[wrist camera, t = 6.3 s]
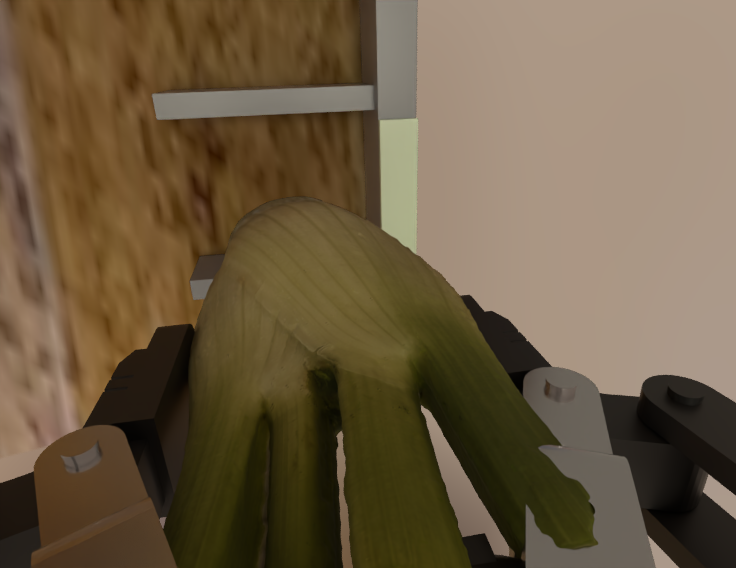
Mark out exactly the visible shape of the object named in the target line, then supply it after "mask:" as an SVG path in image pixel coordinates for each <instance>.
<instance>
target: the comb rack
mask: <svg viewBox="0 0 736 568" xmlns="http://www.w3.org/2000/svg"><path fill="white" fill-rule="evenodd" d="M359 2H360V34H361V65H362V83H345V84H319V85H293V86H266V87H240V88H214V89H188V90H167V91H163V92H158V93H154V94H152V98H153V103H154V108H155V113H156V118H157V120H165V119H187V118H208V117H230V116H251V115H273V114H294V113H316V112H338V111H359V110H363V127H364V159H365V190H366V220H368V221H370V222H372V223H373V224H374V225H376V226H377V227H379V228H381V229H382V230H384V231H385V232H386V233H388V234H389V235H391V236H393V237H394V238H396V239H398V240H399V241H400V243H401V244H402V245H404V246H405V247H408V248H409V249H410V250H411V251H412V252H413V253H415V254H416V243H417V241H416V239H417V169H418V118H416V90H417V89H416V88H417V84H416V83H417V6H418V5H417V4H418V0H359ZM224 257H225V254H221V255H209V256H200V257H199V260H198V262H197V265H196V267H195V269H194V272H193V274H192V277H191V279H190V285H191V290H192V295H193V300H197V299H205V297H206V294H207V291H208V289H209V286H210V284H211V283H212V281H213V278H214V276H215V274H216V273H217V272H218V270H219V269H220V267H221V265H222V262H223V260H224Z"/></svg>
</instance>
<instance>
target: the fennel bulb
mask: <svg viewBox="0 0 736 568" xmlns="http://www.w3.org/2000/svg"><path fill="white" fill-rule="evenodd" d="M194 331H195V334H194V337H193V341H192V345H191V350H190V357H189V365H188V384H189V421H188V426H189V429H188V435H187V440H186V444H185V447H184V450H185V455H184V459H183V462H182V470H181V473H180V476H179V480H178V483H177V486H176V491H175V494H174V496H173V500H172V503H171V506H170V509H169V512H168V514H167V517H166V520H165V525H164V529H163V531H164V534H165V536H166V539H167V542H168V544H169V547H170V550H171V552H172V555H173V558H174V560H175V563H176V566H177V568H343V563H342V545H341V538H340V531H341V530H340V529H341V521H340V505H339V484H338V480H337V459H336V450H337V447H338V442H337V437H336V436H337V434H338V433H339V432H340V431H342V432H343V436H344V437H343V450H344V455H345V457H346V461H345V464H346V472H345V477H344V496H345V500H346V503H347V506H348V514H349V528H350V536H349V540H350V550H351V557H352V564H353V568H472V567H471V564H470V560H469V557H468V551H467V549H466V547H465V546H464V544H463V541H462V535H461V532H460V530H459V528H458V521H457V518H456V516H455V512H454V509H453V507H452V506H451V504H450V501H449V497H448V494H447V492H446V486H445V483H444V482H443V479H442V477H441V473H440V469H439V466H438V462H437V459H436V456H435V452H434V448H433V445H432V442H431V439H430V434H429V430H428V428H427V424H426V419H425V416H424V415H423V413H422V411H421V405H422V406H423V407H424V408H426V409H428V410H429V411H430V412H431V413H432V415H433V417H434V418H435V420H436V421H437V423H438V425H439V427H440V428H441V430H442V433H443V435H444V437H445V438H446V440H447V442H448V443H449V445H450V447H451V448H452V450H453V452H454V454H455V455H456V457H457V458H458V460H459V462H460V464H461V466H462V468H463V470H464V471H465V473H466V475H467V476H468V478H469V479H470V481H471V483H472V485H473V487H474V489H475V491H476V493H477V494H478V497H479V498H480V499H481V501H482V502H483V504H484V506H485V507H486V509H487V510H488V512H489V514H490V515H491V517H492V518H493V520H494V522H495V523H496V525H497V527H498V529H499V531H500V532H501V534H502V536H503V537H504V539H505V540H506V542H507V544H508V546H509V547H510V548H511V549H512V550H513V551H514V552H515V554H516V557H517V558H519V559H521V549H522V547H523V546H524V534H525V515H526V505H527V506H528V507H529V509H530V510H531V512H532V514H533V515H534V521H535V524H536V526H537V527H538V528H539V529H540V531H541V533H542V534H545V535H548V536H549V537H551V538H552V539H553V541H554V543H555V545H556V546H557V547H558V548H570V549H575V548H579V547H583V546H596V545H598V541H597V540H596V539H595V538H594V536H593V524H594V520H595V518H594V516H593V515H594V514H595V513H594V510H593V508H592V506H591V505H590V503H589V502H588V501H589V499H590V495H589V493H588V492H587V491H586V489H585V488H584V487H583V485H582V484H581V483H580V482H579V481H577V480H575V479H572V478H569V477H566V476H565V475H564V474H563V473H562V472H561V471H560V470H559V469H558V468H557V466H556V465H555V464H554V463H553V461H552V460H551V459H550V458H549V457H548V456H547V455H545V454H544V453H543V452H541V451H540V450H539V448H538V447H540V446H542V445H560V446H562V445H561V443H560V442H559V441H558V439H557V438H556V437H555V436H554V435H553V434H552V432H551V430H550V429H549V428H548V426H547V425H546V424H545V423H544V422H543V421H542V420H541V418H540V417H539V416H538V415H537V414H536V412H535V411H534V410H533V409H532V408H531V406H530V405H529V404H528V402H527V401H526V400H525V398H524V397H523V396H522V395H521V393H520V392H519V390H518V389H517V388H516V386H515V385H514V383H513V382H512V380H511V379H510V377H509V375H508V374H507V372H506V371H505V370H504V368H503V366H502V365H501V363H500V362H499V361H498V360H497V358H496V356H495V354H494V353H493V351H492V350H491V348H490V347H489V345H488V344H487V343H486V341H485V339H484V337H483V334H482V333H481V332H480V331H479V329H478V326H477V323H476V322H475V320H474V319H473V317H472V315H471V313H470V310H469V309H467V307H466V305H465V304H464V302H463V300H462V298H461V297H460V295H459V294H458V293H457V292H456V291H455V289H454V288H453V287H452V286H450V284H449V283H448V282H447V281H446V279H445V278H444V277H443V276H442V275H441V274H440V273H439V272H438V271H436V270H435V269H433V268H432V267H431V266H430V265H429V264H427V263H426V262H425V261H424V260H423V259H422V258H421V257H420V256H418V255H416V254H415V253H413V252H412V251H411V250H410V249H409V248H408V247H405V246H404V245H402V244H401V243H400V241H399V240H398V239H396V238H394V237H393V236H391V235H389V234H388V233H386V232H385V231H384V230H382V229H381V228H379V227H377V226H376V225H374V224H373V223H372V222H370V221H368V220H366V219H363V218H361V217H359V216H358V215H356V214H354V213H352V212H350V211H348V210H345V209H343V208H341V207H338V206H335V205H333V204H329V203H326V202H323V201H321V200H319V199H315V198H311V197H287V198H282V199H277V200H273V201H269V202H267V203H265V204H263V205H260V206H259V207H257V208H256V209H254V210H253V211H251V212H249V213H247V214H246V215H245V216H244V217H243V218H242V219H241V220H240V221H239V222H238V223H237V225H236V227H235V228H234V230H233V232H232V233H231V236H230V239H229V243H228V247H227V250H226V253H225V257H224V260H223V262H222V265H221V267H220V269H219V270H218V272H217V273H216V274H215V276H214V278H213V281H212V283H211V284H210V286H209V289H208V291H207V294H206V297H205V299H204V302H203V306H202V309H201V311H200V314H199V317H198V319H197V323H196V326H195V329H194Z"/></svg>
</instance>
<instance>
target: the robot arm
mask: <svg viewBox="0 0 736 568" xmlns="http://www.w3.org/2000/svg"><path fill="white" fill-rule="evenodd" d="M460 297H461V298H462V300H463V302H464V304H465V305H466V307H467V309H469V310H470V313H471V315H472V317H473V319H474V320H475V322H476V323H477V326H478V329H479V331H480V332H481V333H482V334H483V337H484V339H485V341H486V343H487V344H488V345H489V347H490V348H491V350H492V351H493V353H494V354H495V356H496V358H497V360H498V361H499V362H500V363H501V365H502V366H503V368H504V370H505V371H506V372H507V374H508V375H509V377H510V379H511V380H512V382H513V383H514V385H515V386H516V388H517V389H518V390H519V392H520V393H521V395H522V396H523V397H524V398H525V400H526V401H527V402H528V404H529V405H530V406H531V408H532V409H533V410H534V411H535V412H536V414H537V415H538V416H539V417H540V418H541V420H542V421H543V422H544V423H545V424H546V425H547V426H548V428H549V429H550V430H551V432H552V434H553V435H554V436H555V437H556V438H557V439H558V441H559V442H560V443H561V445H562V446H560V445H542V446H540V447H538V448H539V450H540V451H541V452H543V453H544V454H545V455H547V456H548V457H549V458H550V459H551V460H552V461H553V463H554V464H555V465H556V466H557V468H558V469H559V470H560V471H561V472H562V473H563V474H564V475H565V476H566V477H569V478H572V479H575V480H577V481H579V482H580V483H581V484H582V485H583V487H584V488H585V489H586V491H587V492H588V493H589V495H590V499H589V501H588V502H589V503H590V505H591V506H592V508H593V510H594V513H595V514H594V515H593V516H594V518H595V520H594V524H593V536H594V538H595V539H596V540H597V541H598V545H596V546H583V547H579V548H575V549H570V548H558V547H557V546H556V545H555V543H554V541H553V539H552V538H551V537H549V536H548V535H545V534H542V533H541V531H540V529H539V528H538V527H537V526H536V524H535V521H534V515H533V514H532V512H531V510H530V509H529V507H528V506H527V505H526V515H525V534H524V546H523V547H522V549H521V559H519V558H517V557H516V554H515V552H514V551H513V550H512V549H511V548H510V547H509V556H503V555H494V553H493V551H492V548H491V546H490V544H489V542H488V539H487V537H486V535H485V534H478V535H473V536H467V537H462V541H463V544H464V546H465V547H466V549H467V551H468V557H469V560H470V564H471V567H472V568H656V567H655V563H654V559H653V555H652V551H651V547H650V543H649V540H648V536H649V537H650V538H651V539H652V540H653V541H654V542H655V543H656V544H657V545H658V546H659V547H660V548H661V549H662V550H663V551H664V552H665V553H666V554H667V555H668V556H669V557H670V558H671V560H672V561H673V562H674V563H675V564H676V565H677V566H678V567H679V568H736V519H734V518H733V517H732V516H731V515H730V514H729V513H727V512H726V511H725V510H724V509H722V508H721V507H720V506H719V505H718V504H717V503H715V502H714V501H713V500H712V499H710V498H709V497H708V496H707V495H706V494H704V493H703V489H704V486H705V483H706V480H707V477H708V474H709V475H711V476H712V477H713V478H714V479H716V480H717V481H718V482H720V483H721V484H722V485H723V486H724V487H726V488H727V489H728V490H729V491H731V492H732V493H733V494H735V495H736V403H735V402H733V401H732V400H730V399H729V398H727V397H725V396H724V395H722V394H721V393H719V392H717V391H716V390H714V389H712V388H711V387H709V386H707V385H705V384H703V383H700V382H698V381H695V380H692V379H688V378H685V377H680V376H674V375H658V376H653V377H650V378H648V379H646V380H645V382H644V383H643V385H642V389H641V393H640V397H635V396H622V395H609V394H601V393H599V391H598V388H597V387H596V385H595V384H594V383H593V382H592V381H591V380H590V379H588V378H587V377H585V376H583V375H582V374H579V373H577V372H575V371H572V370H569V369H565V368H559V367H552V366H551V365H550V364H549V363H548V362H547V361H546V360H545V359H544V358H543V356H541V354H540V353H539V352H538V351H537V350H536V349H535V348H534V347H533V346H532V345H531V344H530V342H529V341H526V338H525V337H524V336H523V335H522V334H521V333H520V332H519V333H518V330H517V329H516V327H515V326H514V325H513V324H512V323H511V322H510V321H509V320H508V319H506V318H504V317H502V316H500V315H499V314H497V313H495V312H493V311H487V312H484V310H483V309H482V308H481V307H480V306H479V305H478V303H477V302H476V301H475V300H474V299H473V298H472V296H470V295H462V296H460ZM194 334H195V331H194V328H193V326H192V325H191V324H183V325H173V326H164V327H158V328H157V329H156V331H155V333H154V335H153V337H152V339H151V341H150V343H149V345H148V347H147V349H140V350H135V351H134V352H132V353H131V354H130V355H129V356H127V357H126V358H125V359H124V360H123V361H121V362H120V363H119V364H118V366H117V368H116V370H115V372H114V373H113V375H112V377H111V380H110V381H109V382H108V384H107V386H106V388H105V392H103V393H102V395H101V397H100V398H99V400H98V402H97V404H96V405H95V407H94V409H93V411H92V413H91V414H90V416H89V418H88V420H87V422H86V423H85V425H84V427H83V428H82V429H79V430H76V431H74V432H71V433H69V434H67V435H65V436H63V437H61V438H60V439H58V440H56V441H55V442H54V443H52V444H51V445H50V446H48V447H47V448H46V449H45V450H44V451H43V452H42V453H41V454H40V456H39V457H38V459H37V460H36V462H35V465H34V471H33V472H31V473H28V474H26V475H23V476H21V477H17V478H15V479H12V480H9V481H6V482H3V483H0V568H177V566H176V563H175V560H174V558H173V555H172V552H171V550H170V547H169V544H168V542H167V539H166V536H165V534H164V531H163V528H162V526H161V523H160V521H159V520H160V518H161V517H167V514H168V512H169V509H170V506H171V503H172V500H173V496H174V494H175V491H176V486H177V483H178V480H179V476H180V473H181V470H182V462H183V459H184V455H185V450H184V447H185V444H186V440H187V435H188V429H189V426H188V421H189V384H188V365H189V357H190V350H191V345H192V341H193V337H194ZM647 535H648V536H647Z"/></svg>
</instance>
